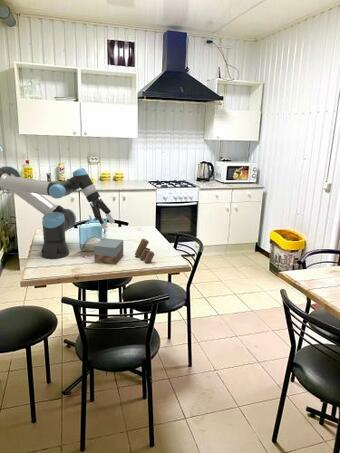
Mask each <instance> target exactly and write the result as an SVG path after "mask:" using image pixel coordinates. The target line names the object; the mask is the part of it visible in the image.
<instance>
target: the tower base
mask: <svg viewBox="0 0 340 453" xmlns="http://www.w3.org/2000/svg"><path fill="white" fill-rule="evenodd" d="M123 256H124V248H123V249H122V250H121V251H120V252H119V253H118V255H117V256H116V257H114V256H104V255H94V263H97V264H107V265H117V264H118V263H119V262H120V261H121V259H122V258H123Z"/></svg>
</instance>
